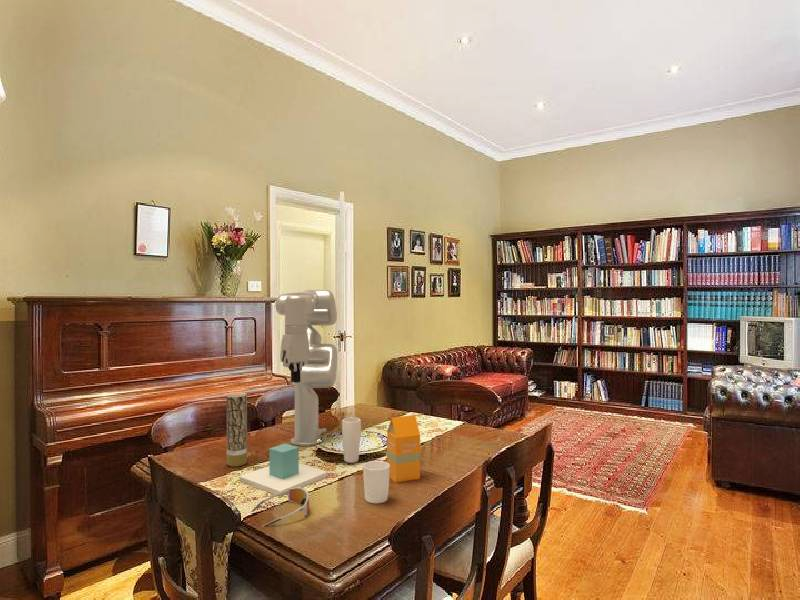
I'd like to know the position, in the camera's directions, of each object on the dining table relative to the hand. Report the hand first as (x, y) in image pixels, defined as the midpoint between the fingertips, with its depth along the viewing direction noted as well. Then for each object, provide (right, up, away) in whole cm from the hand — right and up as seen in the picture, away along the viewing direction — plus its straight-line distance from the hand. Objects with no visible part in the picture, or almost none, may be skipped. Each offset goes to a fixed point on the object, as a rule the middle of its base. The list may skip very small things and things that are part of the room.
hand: (295, 381), depth 174 cm
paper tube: (-21, -29, -1) cm, 36 cm away
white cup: (+30, -30, -29) cm, 52 cm away
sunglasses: (+5, -30, -38) cm, 49 cm away
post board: (-1, -29, -14) cm, 32 cm away
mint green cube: (-1, -28, -14) cm, 31 cm away
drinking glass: (+20, -29, +3) cm, 35 cm away
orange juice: (+38, -30, -12) cm, 50 cm away
